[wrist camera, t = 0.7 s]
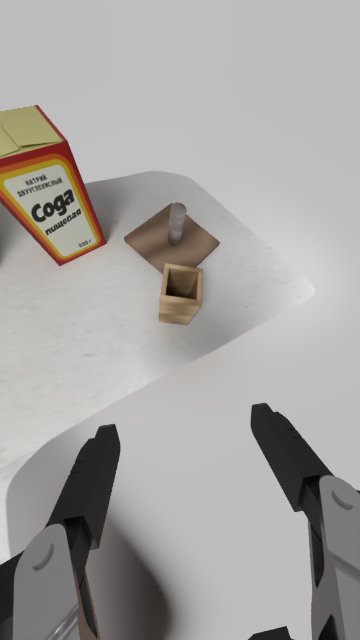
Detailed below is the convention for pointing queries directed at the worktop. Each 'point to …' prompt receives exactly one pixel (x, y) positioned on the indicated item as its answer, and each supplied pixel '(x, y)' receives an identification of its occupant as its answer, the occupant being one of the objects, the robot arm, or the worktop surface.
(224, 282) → the worktop surface
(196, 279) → the wooden holder box
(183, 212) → the plate
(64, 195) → the baking soda box
